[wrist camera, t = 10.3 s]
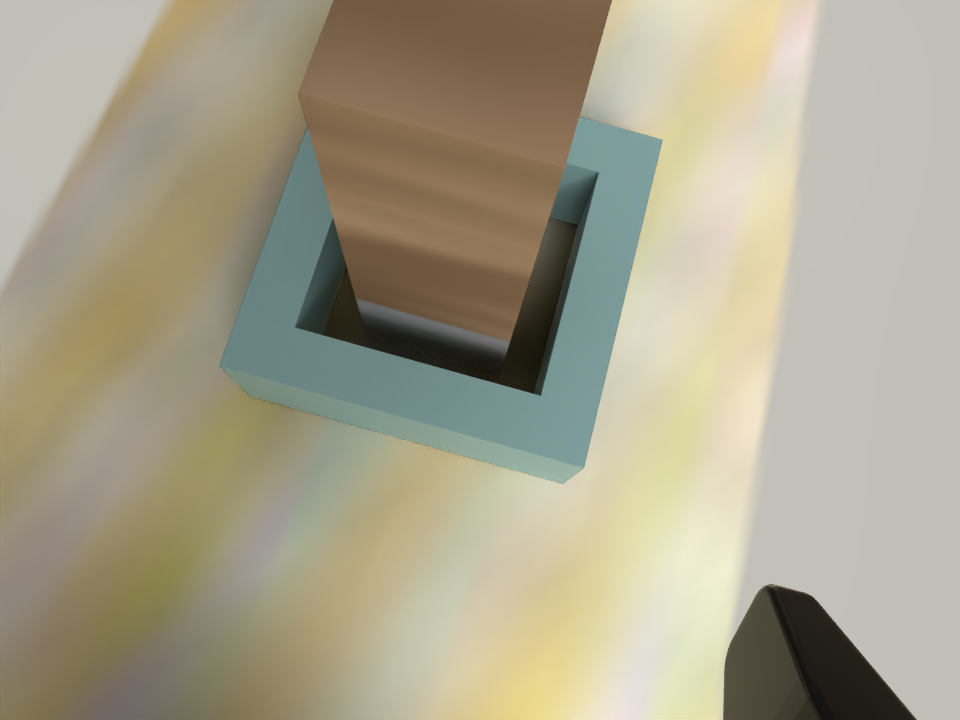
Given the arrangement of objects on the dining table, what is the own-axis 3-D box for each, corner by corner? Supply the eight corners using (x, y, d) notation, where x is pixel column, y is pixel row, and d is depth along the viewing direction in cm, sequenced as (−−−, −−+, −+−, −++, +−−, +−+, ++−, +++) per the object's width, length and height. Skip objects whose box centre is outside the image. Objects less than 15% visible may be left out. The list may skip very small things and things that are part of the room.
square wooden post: (499, 374, 21) (565, 168, 11) (366, 336, 21) (298, 93, 11) (534, 250, 22) (627, -56, 11) (406, 214, 22) (380, -123, 12)
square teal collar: (563, 483, 21) (583, 468, 18) (249, 396, 21) (219, 366, 18) (633, 196, 23) (662, 139, 20) (347, 118, 23) (335, 50, 20)
